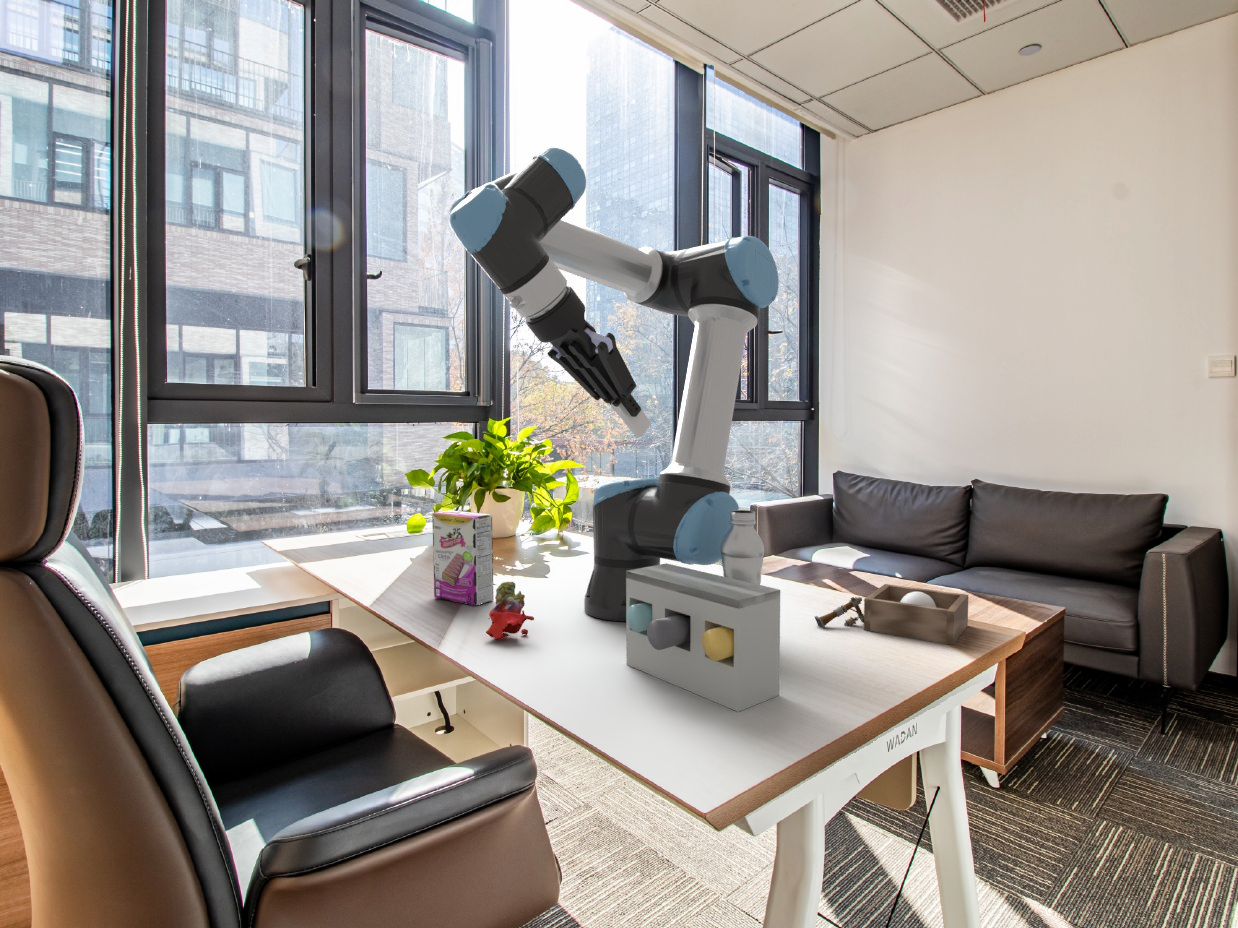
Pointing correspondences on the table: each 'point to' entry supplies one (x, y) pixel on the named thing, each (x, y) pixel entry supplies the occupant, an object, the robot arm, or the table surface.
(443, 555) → the candy bar box
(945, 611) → the organizer frame
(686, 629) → the charcoal button
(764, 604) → the console
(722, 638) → the amber button
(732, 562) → the plastic bottle
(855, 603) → the wooden post with brackets
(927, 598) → the white egg
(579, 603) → the table surface
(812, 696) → the table surface
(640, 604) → the teal button
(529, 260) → the robot arm
